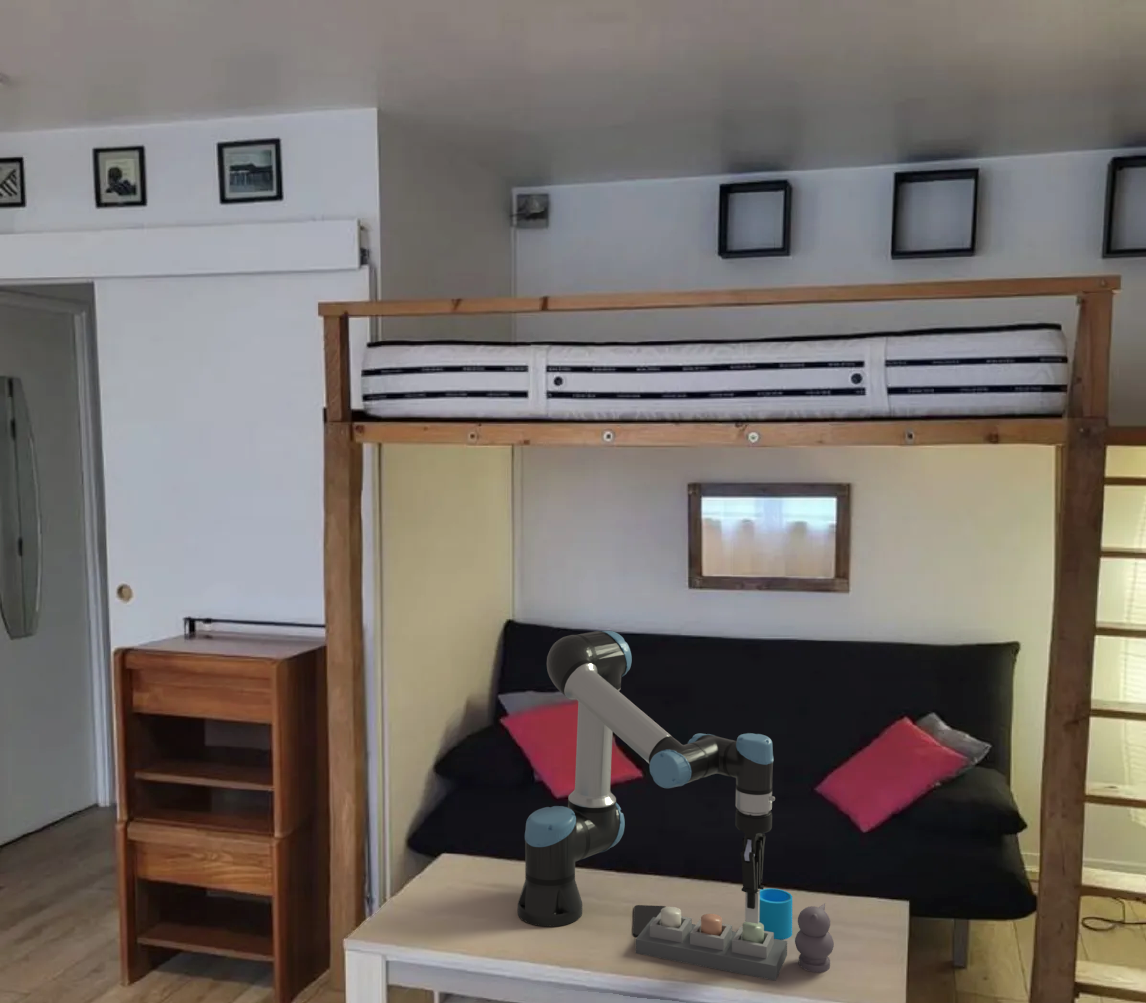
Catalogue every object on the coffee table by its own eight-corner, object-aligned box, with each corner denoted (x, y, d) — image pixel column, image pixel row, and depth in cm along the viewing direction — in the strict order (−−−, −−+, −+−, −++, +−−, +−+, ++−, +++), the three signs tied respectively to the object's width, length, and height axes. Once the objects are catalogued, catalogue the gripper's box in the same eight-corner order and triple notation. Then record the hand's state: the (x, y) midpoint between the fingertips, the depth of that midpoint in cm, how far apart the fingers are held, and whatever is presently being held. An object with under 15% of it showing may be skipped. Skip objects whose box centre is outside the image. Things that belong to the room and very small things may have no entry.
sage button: (740, 947, 209) (740, 928, 209) (745, 938, 213) (745, 919, 213) (761, 950, 207) (761, 931, 207) (765, 942, 211) (765, 923, 211)
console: (635, 953, 214) (635, 928, 214) (653, 930, 225) (653, 906, 225) (775, 980, 203) (775, 954, 202) (787, 955, 214) (787, 930, 213)
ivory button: (658, 931, 216) (658, 913, 216) (664, 923, 220) (664, 905, 220) (677, 935, 214) (677, 916, 214) (683, 927, 218) (683, 908, 218)
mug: (789, 942, 219) (789, 905, 219) (752, 936, 222) (752, 900, 222) (797, 920, 231) (797, 885, 231) (761, 914, 234) (762, 880, 233)
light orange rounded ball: (698, 939, 213) (698, 920, 213) (704, 930, 217) (704, 912, 217) (718, 943, 211) (718, 924, 211) (724, 934, 215) (724, 915, 215)
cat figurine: (802, 952, 215) (802, 896, 215) (838, 961, 211) (838, 904, 211) (789, 968, 208) (789, 911, 207) (826, 978, 204) (827, 919, 203)
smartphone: (668, 940, 221) (667, 909, 237) (668, 936, 221) (667, 905, 237) (632, 939, 222) (634, 908, 238) (632, 935, 222) (634, 904, 238)
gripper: (765, 822, 202) (763, 937, 203) (778, 803, 214) (776, 912, 215) (728, 816, 205) (727, 930, 206) (743, 798, 217) (741, 905, 218)
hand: (752, 921), depth 210 cm, fingers closed
